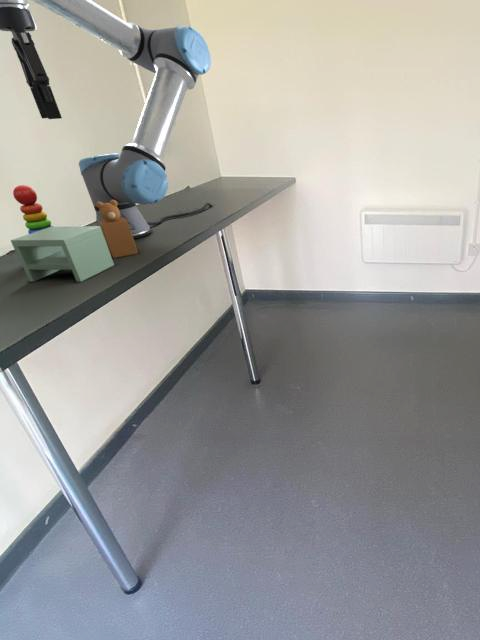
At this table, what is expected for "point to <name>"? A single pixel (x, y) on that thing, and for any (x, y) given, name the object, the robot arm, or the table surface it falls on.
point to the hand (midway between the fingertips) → (51, 118)
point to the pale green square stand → (63, 252)
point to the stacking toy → (31, 209)
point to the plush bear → (116, 230)
